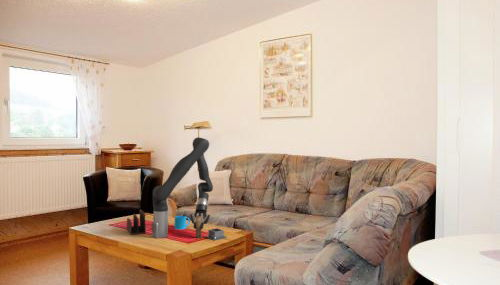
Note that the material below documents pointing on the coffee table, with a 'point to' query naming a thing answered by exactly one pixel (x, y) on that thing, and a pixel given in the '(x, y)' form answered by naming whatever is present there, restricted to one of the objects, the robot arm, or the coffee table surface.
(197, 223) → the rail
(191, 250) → the coffee table surface
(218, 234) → the grey square block
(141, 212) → the letter holder
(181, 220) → the mug
